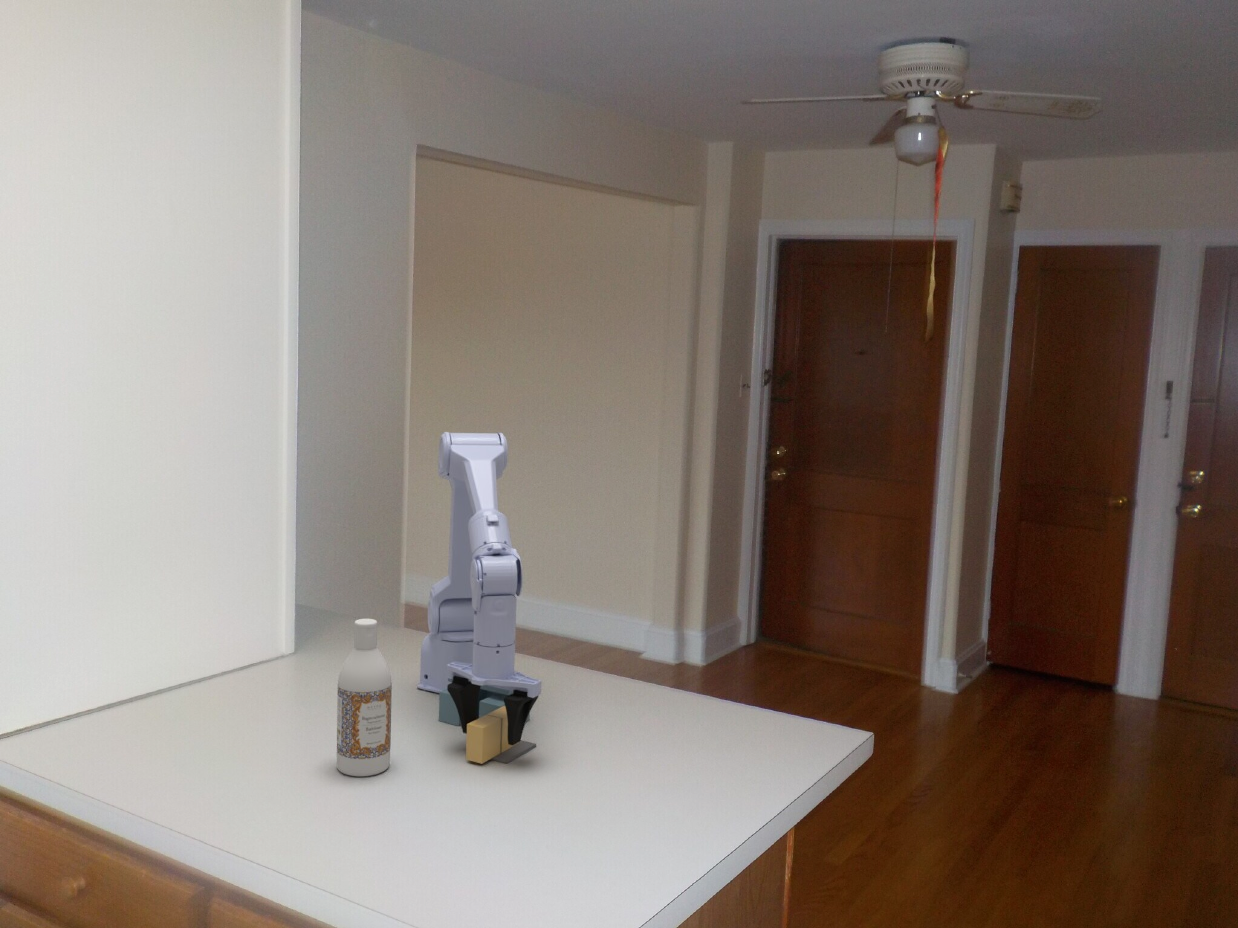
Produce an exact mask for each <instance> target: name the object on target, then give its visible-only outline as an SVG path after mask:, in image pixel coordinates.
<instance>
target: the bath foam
mask: <svg viewBox="0 0 1238 928" xmlns="http://www.w3.org/2000/svg"><path fill="white" fill-rule="evenodd" d="M353 628H354V629H353V630H354V631H353V635H354V636H353V642H354V643H353V645H354V647H353V649H352V650H351V651H350V653H349V655H348V656H347V658H346V659H345V661H344V662H343V664H342V666H341V668H340V671H339V675H338V680H337V706H336V707H337V709H336V710H337V711H336V712H337V713H336V715H337V716H336V767H337V769H338V771H339V772H340V773H341V774H344V775H347V776H351V777H369V776H375V775H379V774H381V773H383V772H385V771H386V770H387V769H388V768H389V767H390V763H391V743H392V742H391V740H392V738H391V736H392V735H391V733H392V689H393V688H392V686H393V685H392V684H393V682H392V675H391V669H390V668H389V665H388V663H387V661H386V659H385V658H384V656H383V655H382V653H381V651H380V650H379V649H378V647H377V645H378V621H377V620H376V619H374V618H373V619H372V618H360V619H356V620H354V626H353Z"/></svg>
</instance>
